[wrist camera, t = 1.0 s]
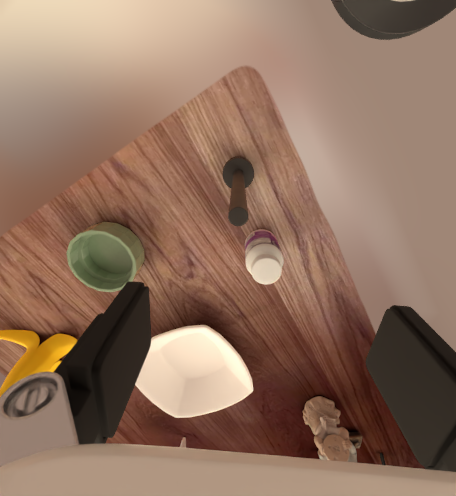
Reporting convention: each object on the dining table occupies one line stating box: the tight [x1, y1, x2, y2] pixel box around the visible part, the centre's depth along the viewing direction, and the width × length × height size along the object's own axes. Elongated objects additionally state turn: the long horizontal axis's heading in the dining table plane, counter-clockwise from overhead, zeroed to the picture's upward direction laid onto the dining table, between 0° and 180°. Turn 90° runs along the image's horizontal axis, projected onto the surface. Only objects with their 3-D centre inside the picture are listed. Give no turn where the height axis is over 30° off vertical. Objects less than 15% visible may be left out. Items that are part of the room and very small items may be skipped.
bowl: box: [135, 325, 253, 418], centre depth 51 cm, size 22×22×5 cm
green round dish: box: [67, 222, 145, 292], centre depth 42 cm, size 11×11×4 cm
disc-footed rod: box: [223, 157, 254, 226], centre depth 28 cm, size 4×4×22 cm
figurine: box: [303, 396, 357, 463], centre depth 49 cm, size 9×8×20 cm
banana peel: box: [0, 330, 78, 397], centre depth 46 cm, size 17×19×17 cm
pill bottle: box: [245, 229, 284, 284], centre depth 38 cm, size 5×5×10 cm
